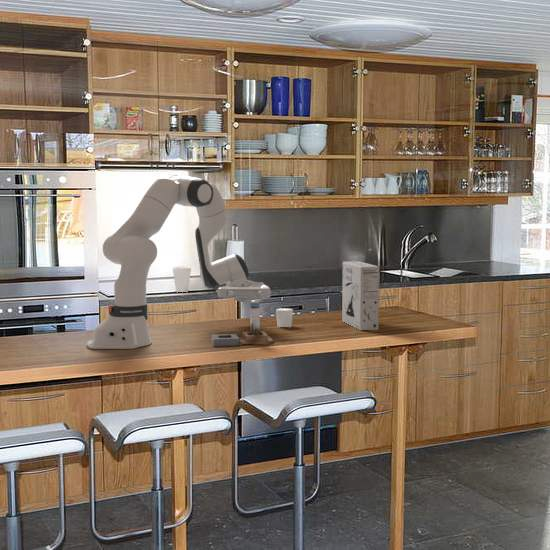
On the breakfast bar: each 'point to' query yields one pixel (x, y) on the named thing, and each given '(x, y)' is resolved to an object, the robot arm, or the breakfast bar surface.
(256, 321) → the drill rod
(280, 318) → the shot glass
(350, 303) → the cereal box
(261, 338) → the rack
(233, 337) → the socket
